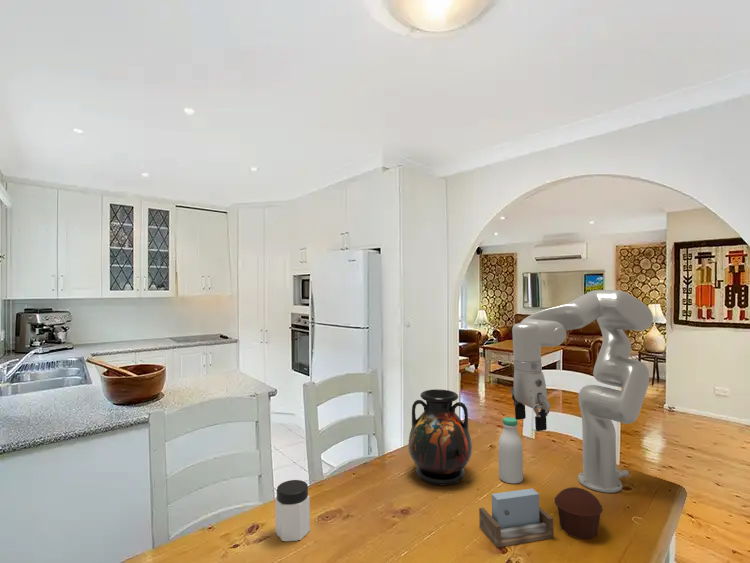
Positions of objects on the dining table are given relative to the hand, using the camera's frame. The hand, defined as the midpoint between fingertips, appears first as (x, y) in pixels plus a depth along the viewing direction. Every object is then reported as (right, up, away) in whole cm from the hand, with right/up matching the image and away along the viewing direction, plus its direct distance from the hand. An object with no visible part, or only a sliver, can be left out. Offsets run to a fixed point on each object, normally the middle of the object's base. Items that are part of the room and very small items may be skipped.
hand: (530, 424), depth 119 cm
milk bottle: (0, -25, +18) cm, 31 cm away
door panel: (-8, -23, -12) cm, 27 cm away
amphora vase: (-23, -25, +21) cm, 40 cm away
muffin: (+9, -24, -11) cm, 28 cm away
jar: (-67, -25, -11) cm, 72 cm away
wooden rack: (-8, -24, -12) cm, 28 cm away
